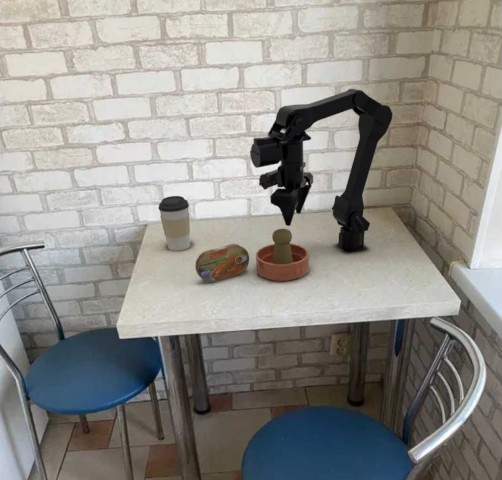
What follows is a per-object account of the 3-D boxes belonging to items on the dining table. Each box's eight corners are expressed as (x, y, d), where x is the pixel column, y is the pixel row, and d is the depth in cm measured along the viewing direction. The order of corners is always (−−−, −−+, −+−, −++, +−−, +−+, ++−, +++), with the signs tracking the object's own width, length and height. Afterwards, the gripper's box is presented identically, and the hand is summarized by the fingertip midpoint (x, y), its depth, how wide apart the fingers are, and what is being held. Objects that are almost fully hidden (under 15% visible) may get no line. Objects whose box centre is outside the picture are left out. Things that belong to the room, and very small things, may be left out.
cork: (292, 273, 142) (291, 235, 136) (269, 272, 143) (268, 234, 137) (295, 264, 147) (295, 226, 141) (273, 263, 148) (272, 225, 142)
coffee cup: (158, 250, 162) (151, 202, 154) (173, 238, 169) (166, 192, 160) (185, 253, 159) (178, 204, 150) (198, 241, 166) (193, 194, 157)
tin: (200, 285, 140) (196, 256, 136) (195, 281, 143) (192, 252, 138) (250, 272, 146) (249, 243, 141) (245, 267, 148) (243, 239, 144)
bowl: (296, 256, 153) (296, 239, 150) (316, 276, 142) (317, 259, 139) (249, 264, 150) (249, 248, 147) (266, 286, 138) (266, 269, 136)
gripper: (273, 149, 144) (276, 205, 153) (249, 169, 130) (253, 230, 138) (313, 151, 140) (313, 208, 149) (292, 171, 126) (294, 233, 135)
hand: (293, 219), depth 143 cm, fingers open, 9 cm apart
